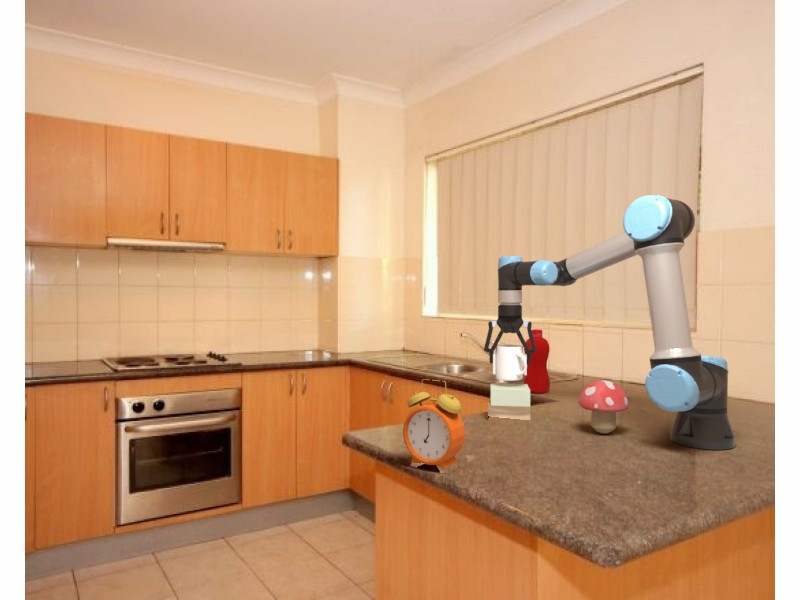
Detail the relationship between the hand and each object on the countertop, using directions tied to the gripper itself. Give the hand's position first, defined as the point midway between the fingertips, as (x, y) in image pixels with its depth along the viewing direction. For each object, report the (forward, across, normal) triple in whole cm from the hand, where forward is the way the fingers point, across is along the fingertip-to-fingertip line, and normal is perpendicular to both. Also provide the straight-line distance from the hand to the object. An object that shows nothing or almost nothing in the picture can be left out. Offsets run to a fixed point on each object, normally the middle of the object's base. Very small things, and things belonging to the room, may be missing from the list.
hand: (509, 374), depth 180 cm
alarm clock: (+14, +16, +58) cm, 61 cm away
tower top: (+9, 0, +1) cm, 9 cm away
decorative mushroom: (+14, -26, +17) cm, 34 cm away
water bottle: (+14, -10, -48) cm, 50 cm away
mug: (+2, -1, 0) cm, 2 cm away
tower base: (+14, 0, 0) cm, 14 cm away
